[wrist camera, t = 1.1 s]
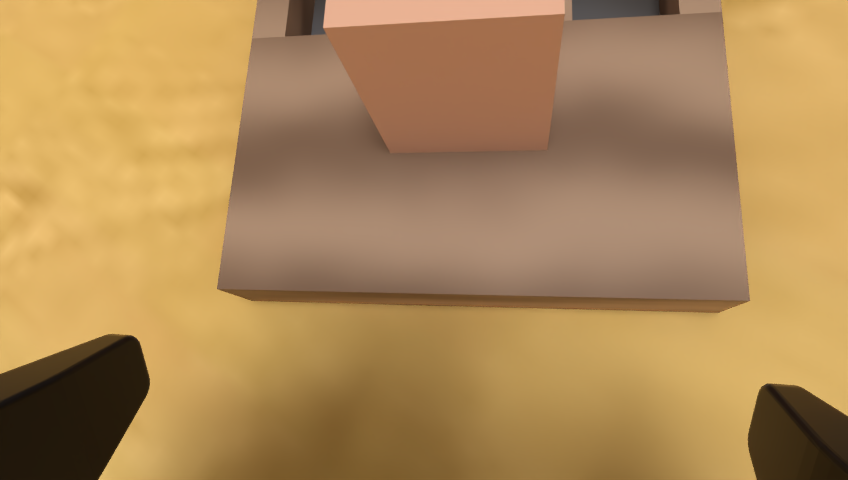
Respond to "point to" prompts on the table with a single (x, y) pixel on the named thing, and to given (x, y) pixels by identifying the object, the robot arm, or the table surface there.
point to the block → (452, 70)
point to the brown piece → (497, 178)
